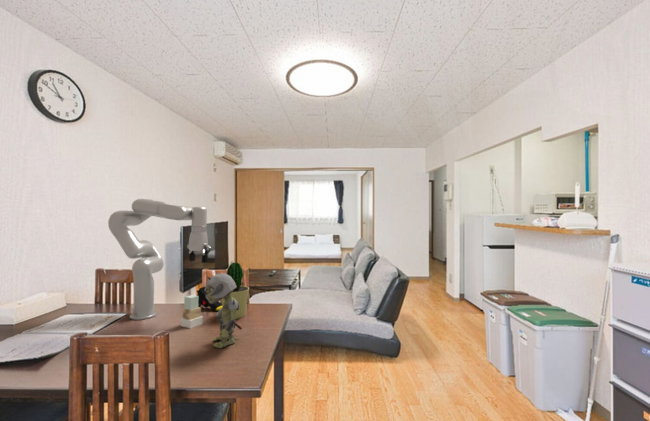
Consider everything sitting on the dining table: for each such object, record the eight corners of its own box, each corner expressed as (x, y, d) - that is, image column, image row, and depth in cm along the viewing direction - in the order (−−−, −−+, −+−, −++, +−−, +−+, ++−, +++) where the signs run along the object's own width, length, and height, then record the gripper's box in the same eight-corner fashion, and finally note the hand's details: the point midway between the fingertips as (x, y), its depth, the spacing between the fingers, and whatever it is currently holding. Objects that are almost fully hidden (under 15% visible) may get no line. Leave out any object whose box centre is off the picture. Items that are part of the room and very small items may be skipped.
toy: (203, 338, 137) (205, 271, 137) (241, 334, 142) (242, 269, 143) (203, 352, 122) (204, 277, 123) (244, 347, 128) (245, 275, 129)
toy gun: (208, 324, 176) (219, 308, 174) (188, 303, 181) (198, 287, 179) (213, 321, 181) (224, 305, 179) (194, 300, 186) (204, 285, 184)
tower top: (182, 317, 153) (182, 308, 153) (193, 314, 158) (193, 305, 158) (190, 319, 150) (190, 310, 150) (200, 316, 155) (200, 307, 155)
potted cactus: (252, 312, 175) (253, 259, 176) (242, 321, 160) (243, 263, 160) (227, 310, 177) (227, 259, 177) (214, 319, 161) (215, 262, 162)
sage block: (184, 308, 153) (184, 296, 153) (192, 306, 157) (192, 294, 157) (190, 310, 151) (190, 298, 151) (198, 307, 155) (198, 295, 155)
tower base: (180, 326, 152) (180, 318, 152) (192, 321, 159) (192, 314, 159) (190, 328, 149) (190, 320, 149) (202, 324, 156) (203, 316, 156)
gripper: (182, 229, 165) (181, 261, 165) (204, 230, 157) (203, 263, 157) (193, 229, 172) (193, 259, 171) (215, 230, 163) (215, 262, 163)
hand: (198, 261), depth 164 cm, fingers open, 9 cm apart
